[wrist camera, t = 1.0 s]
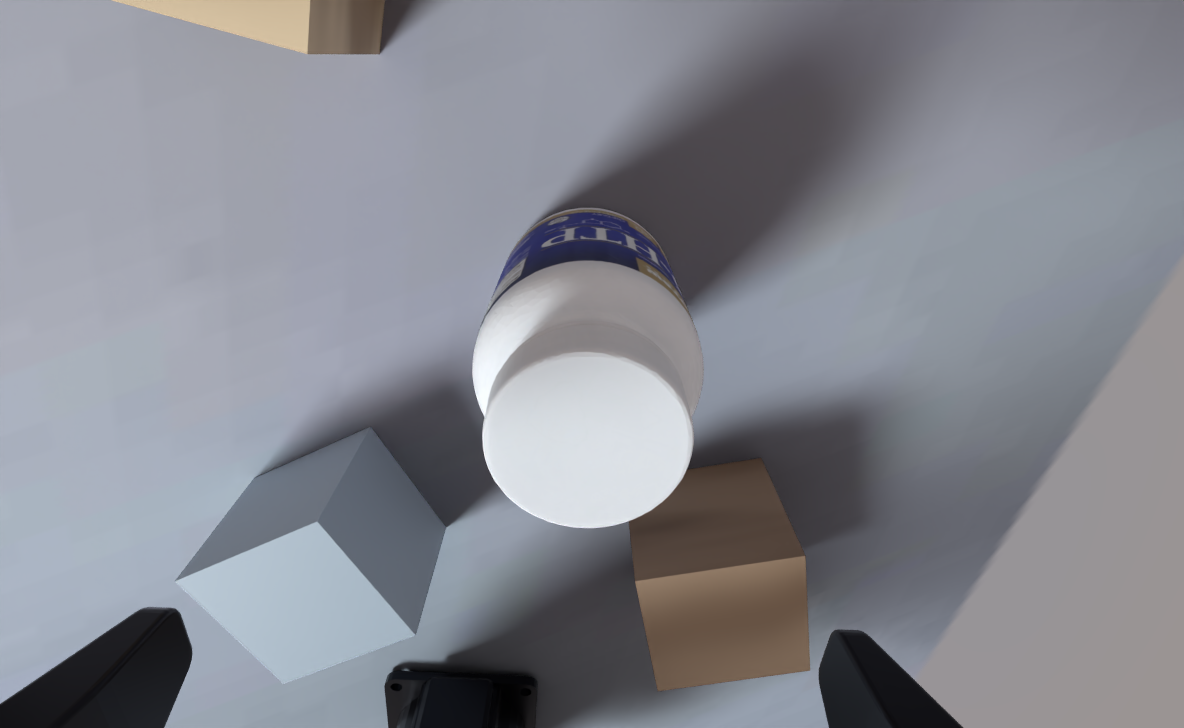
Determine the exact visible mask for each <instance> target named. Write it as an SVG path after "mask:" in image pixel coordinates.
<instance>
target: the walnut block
mask: <svg viewBox="0 0 1184 728" xmlns="http://www.w3.org/2000/svg"><path fill="white" fill-rule="evenodd" d="M629 529H630V538H631V548H632V557H633V567H634V576H635V584H636V588H637V593H638V598H639V603H640V608H641V613H642V618H643V622H644V627H645V632H646V637H647V642H648V647H649V651H650V656H651V661H652V666H653V671H654V676H655V681H656V685H657V690H658V691H664V690H671V689H678V688H686V687H693V686H700V685H707V684H715V683H722V682H729V681H737V680H744V679H751V678H759V677H766V676H773V675H780V674H788V673H795V672H802V671H810V657H809V632H808V607H807V582H806V557H805V554H804V552H803V549H802V547H801V545H800V543H799V540H798V538H797V536H796V534H795V532H794V529H793V527H792V525H791V523H790V521H789V518H788V516H787V514H786V512H785V509H784V507H783V505H782V503H781V501H780V498H779V496H778V494H777V492H776V490H775V487H774V485H773V483H772V481H771V478H770V476H769V474H768V472H767V470H766V467H765V465H764V463H763V461H762V458H757V459H751V460H744V461H738V462H732V463H725V464H719V465H713V466H707V467H700V468H694V469H688V470H686V472H685V474H684V476H683V478H682V480H681V481H680V483H679V484H678V486H677V487H676V488H675V489H674V490H673V492H672V493H671V494H670V495H669V496H668V497H667V498H666V499H665V500H664V501H663V502H662V503H660V504H659V505H658V506H656V507H655V508H654V509H652V510H651V511H649V512H647V513H645V514H643V515H642V516H639V517H637V518H635V519H633V520H630V521H629Z"/></svg>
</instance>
